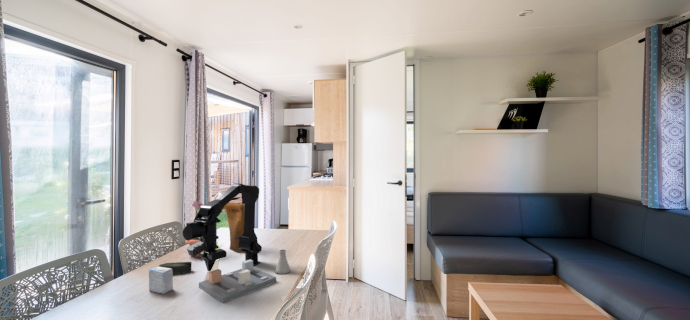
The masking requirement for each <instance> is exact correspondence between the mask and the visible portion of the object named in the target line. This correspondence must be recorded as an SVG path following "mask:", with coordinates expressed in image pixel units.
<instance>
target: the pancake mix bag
mask: <svg viewBox="0 0 690 320" xmlns="http://www.w3.org/2000/svg"><path fill="white" fill-rule="evenodd" d="M223 208H224V210H225V214H226V219H227V224H228V229H229V241H230V242H229V243H230V244H229V250H231V251H233V252H235V253H238V254H245V252H242V250H241V247H240V244H239V236H242V234H243V233H244V210H245V203H244V204H243V203H239V202H231V201H230V202H229V203H228V204H226V205H225V206H224V207H223Z"/></svg>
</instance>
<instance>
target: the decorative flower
mask: <svg viewBox="0 0 690 320" xmlns="http://www.w3.org/2000/svg"><path fill="white" fill-rule="evenodd" d="M202 205H204V203H203V202H201V201H197V200H194V201H193V202H192V207H193V208H194V209H195V211H196V213H197V214H198V212H199V210H200V207H201V206H202ZM199 238H200V237H199ZM199 238H196V239H192V240H189V241H187V240H186V239H185V244H186V245H189V246H191V245H193V244H194V243H197V242H199ZM199 254H201V253H199ZM199 254H197V256H195V257H194V258H198V257H201V256H199Z"/></svg>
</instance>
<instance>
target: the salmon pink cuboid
mask: <svg viewBox="0 0 690 320" xmlns="http://www.w3.org/2000/svg"><path fill="white" fill-rule="evenodd" d="M208 272H209V273H208V279H209V283H211V284H214V283H217V282H220V281H221V275H222V270H221V269H220V268H217V269H215V270H211V271H208Z"/></svg>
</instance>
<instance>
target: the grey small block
mask: <svg viewBox="0 0 690 320" xmlns="http://www.w3.org/2000/svg"><path fill="white" fill-rule="evenodd" d="M241 265H242V267H241V269H242V271H244V270H249V271H253V267H254V265H253V260H251V259H250V260H246V261H245V260H244V261H242V263H241Z"/></svg>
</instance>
